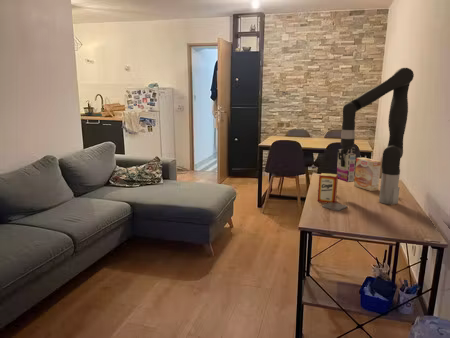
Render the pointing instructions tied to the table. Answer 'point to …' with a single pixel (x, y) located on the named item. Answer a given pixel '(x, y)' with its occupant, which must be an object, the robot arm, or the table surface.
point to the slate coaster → (335, 206)
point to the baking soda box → (327, 187)
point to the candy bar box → (347, 168)
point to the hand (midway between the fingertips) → (346, 165)
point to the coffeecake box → (367, 173)
